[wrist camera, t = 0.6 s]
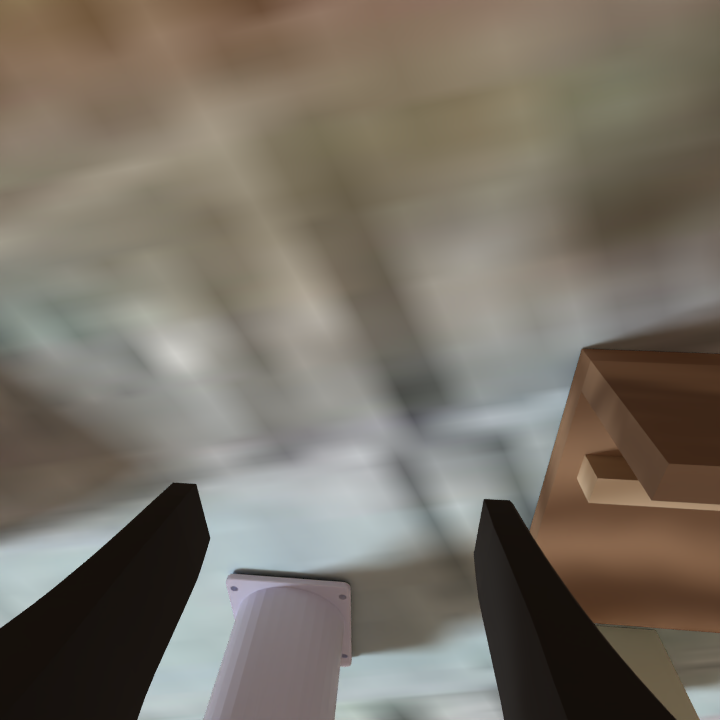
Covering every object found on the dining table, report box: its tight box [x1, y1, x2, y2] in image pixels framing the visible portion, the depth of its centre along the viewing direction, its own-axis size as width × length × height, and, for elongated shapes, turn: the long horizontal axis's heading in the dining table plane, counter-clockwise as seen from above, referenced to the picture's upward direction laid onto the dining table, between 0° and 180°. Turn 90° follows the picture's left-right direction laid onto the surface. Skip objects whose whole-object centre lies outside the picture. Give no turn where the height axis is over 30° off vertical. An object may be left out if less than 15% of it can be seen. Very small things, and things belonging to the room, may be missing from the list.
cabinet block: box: [596, 626, 700, 720], centre depth 28 cm, size 8×5×6 cm, turn 0°
